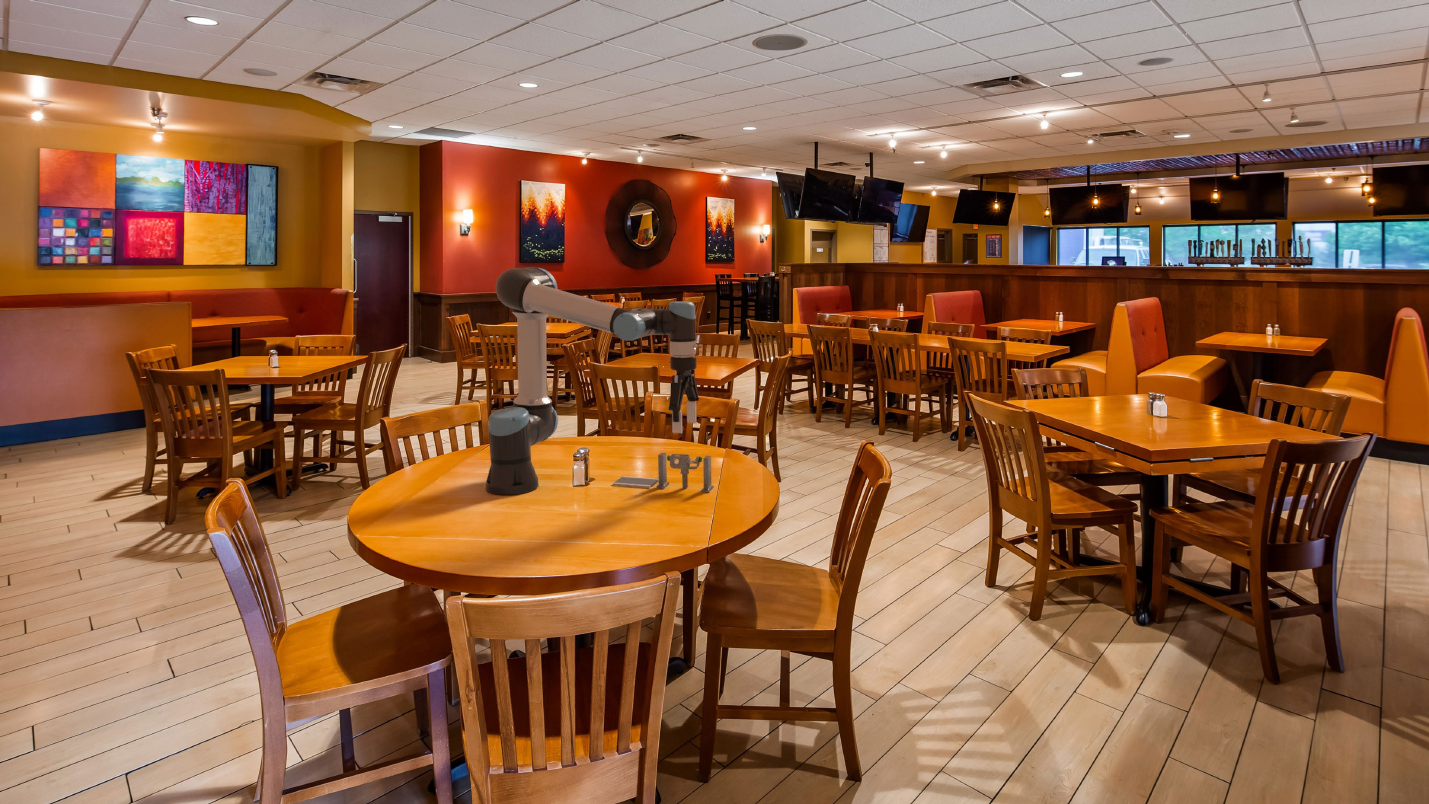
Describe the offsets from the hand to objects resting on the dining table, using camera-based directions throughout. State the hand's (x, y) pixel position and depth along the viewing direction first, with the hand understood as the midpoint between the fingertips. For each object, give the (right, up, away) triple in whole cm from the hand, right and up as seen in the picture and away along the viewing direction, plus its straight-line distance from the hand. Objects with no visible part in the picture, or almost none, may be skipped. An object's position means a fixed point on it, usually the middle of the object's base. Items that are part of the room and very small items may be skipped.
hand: (684, 427), depth 227 cm
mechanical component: (0, -18, +3) cm, 19 cm away
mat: (-15, -17, +9) cm, 25 cm away
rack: (0, -18, +3) cm, 18 cm away
